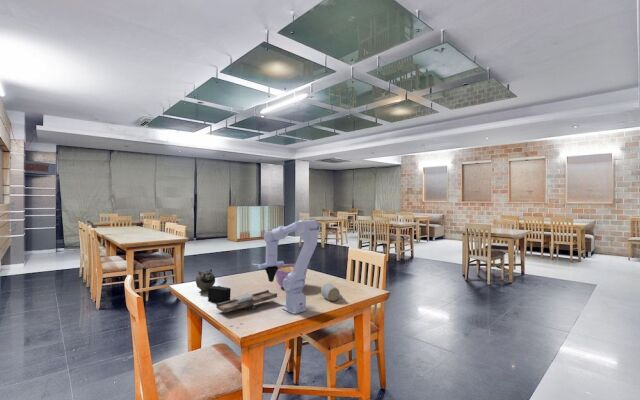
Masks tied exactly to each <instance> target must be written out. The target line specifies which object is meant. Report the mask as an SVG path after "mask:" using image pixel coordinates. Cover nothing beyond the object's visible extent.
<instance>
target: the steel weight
mask: <svg viewBox="0 0 640 400" xmlns="http://www.w3.org/2000/svg"><path fill="white" fill-rule="evenodd" d="M232 300H233V303H234V304H236V305H237V304H240V303H244V302H247V301H251V300H253V295H251V294H250V293H244V294H241V295H236V296H232Z"/></svg>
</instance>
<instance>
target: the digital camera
mask: <svg viewBox="0 0 640 400" xmlns="http://www.w3.org/2000/svg"><path fill="white" fill-rule="evenodd" d="M231 291H232V289H231V287H226V286H220V285H218V286H217V285H213V286H212V287H210V288H208V293H207V297H208V298H207V302H209V303H216V304H218V303H222V302H226V301H229V300H231Z"/></svg>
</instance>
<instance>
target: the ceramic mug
mask: <svg viewBox="0 0 640 400" xmlns="http://www.w3.org/2000/svg"><path fill="white" fill-rule="evenodd" d="M320 294H321V297H323V298H325V299H326V300H327V301H330V302H335V301H337V300H338V299H340V300H342V298H343V295H342V294H341V293H340V290H339V288H337V287H336V286H334V285H333V284H331V283H328V282H327V283H325V284H323V285H322V287H321V289H320Z"/></svg>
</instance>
